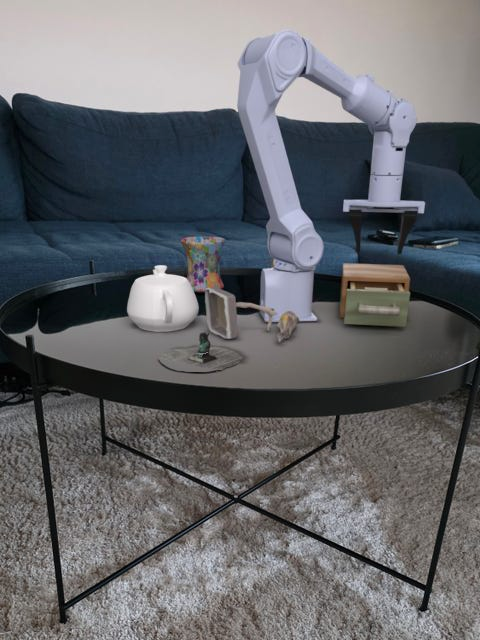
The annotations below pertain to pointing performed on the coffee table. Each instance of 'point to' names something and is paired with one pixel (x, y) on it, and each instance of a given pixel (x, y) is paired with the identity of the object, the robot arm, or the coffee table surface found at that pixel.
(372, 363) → the coffee table surface
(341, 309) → the cabinet
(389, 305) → the drawer
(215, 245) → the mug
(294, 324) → the decorative sculpture
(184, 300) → the teapot
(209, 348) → the sculpture
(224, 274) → the coffee table surface
